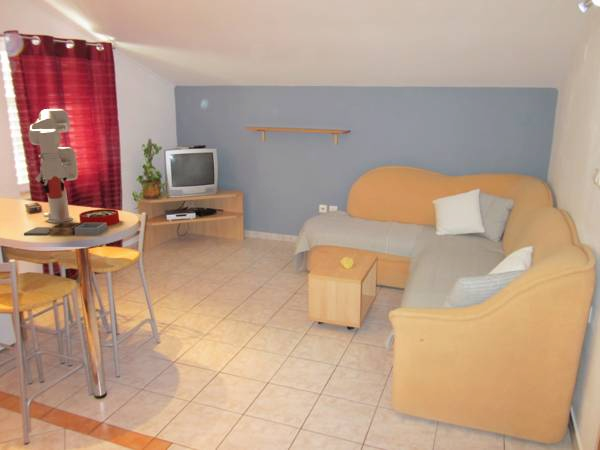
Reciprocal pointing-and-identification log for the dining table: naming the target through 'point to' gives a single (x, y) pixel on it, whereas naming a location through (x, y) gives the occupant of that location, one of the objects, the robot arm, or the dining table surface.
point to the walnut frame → (64, 229)
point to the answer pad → (38, 231)
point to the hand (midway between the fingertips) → (54, 191)
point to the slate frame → (90, 228)
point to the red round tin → (100, 216)
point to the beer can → (54, 188)
